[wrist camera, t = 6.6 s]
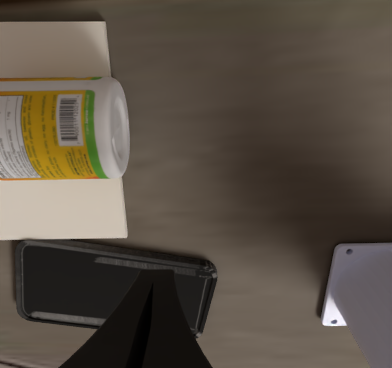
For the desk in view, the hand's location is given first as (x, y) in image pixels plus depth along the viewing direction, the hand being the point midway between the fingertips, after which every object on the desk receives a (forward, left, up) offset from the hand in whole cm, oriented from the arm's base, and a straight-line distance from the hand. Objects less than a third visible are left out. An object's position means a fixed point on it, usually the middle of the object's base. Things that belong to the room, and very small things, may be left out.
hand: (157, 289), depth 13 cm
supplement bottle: (+2, -5, -7) cm, 9 cm away
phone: (+5, +9, -11) cm, 15 cm away
